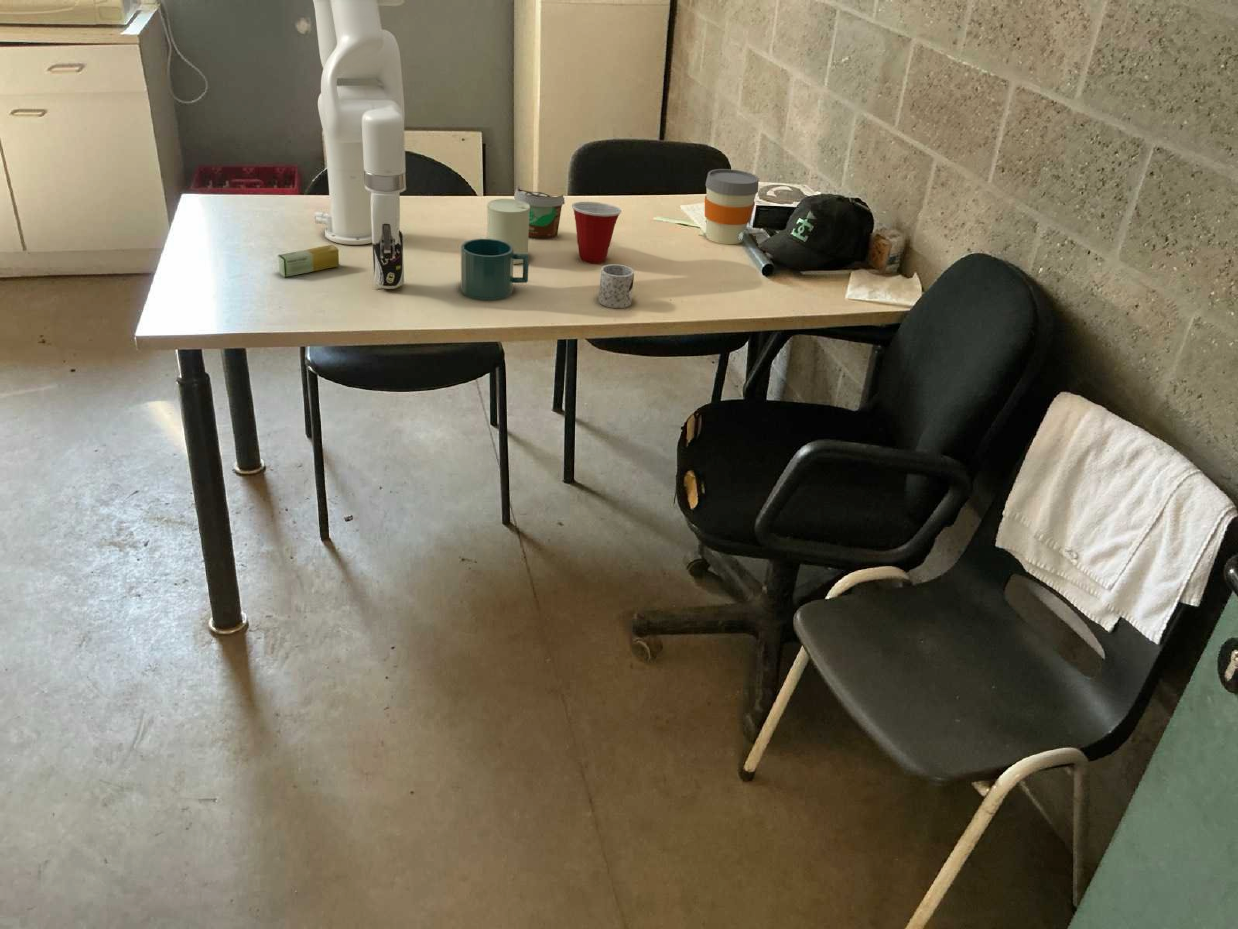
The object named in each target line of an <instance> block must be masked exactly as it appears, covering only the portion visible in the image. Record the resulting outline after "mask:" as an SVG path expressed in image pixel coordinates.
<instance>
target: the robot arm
mask: <svg viewBox="0 0 1238 929" xmlns="http://www.w3.org/2000/svg"><path fill="white" fill-rule="evenodd" d="M405 1H406V0H312V2H313V6H314V14H315V25H316V33H317V42H318V43H317V44H318V51H319V57H320V63H321V66H322V69H323V70H322V73H321V78H320V93H319V96H318V98H317V109H318V115H319V119H320V124H321V128H322V133H323V139H324V146H325V156H326V157H325V158H326V167H327V168H326V169H327V182H328V195H329V208H330V211H329V212H328V213H325V212H321V211H315V213H314V220H315V221H314V222H315V224H320V225H325V226H326V228H325V229H324V237H325V238H326V239H327V240H329V241H331V242H333V243H338V244H341V245H354V246H355V245H356V246H359V245H367V244H372V243H373V244H376V243H379V241H380V254H381V259H383V257H384V259H387V258H389V259H395V245H396V244H397V243H398V237H399V230H400V224H401V223H400V222H401V199H400V198H401V196H400V195H401V194H400V193H403V192H404V191H406V190H407V182H406V181H407V177H406V176H407V175H406V174H407V173H406V172H407V171H406V143H405V142H406V139H405V135H406V134H405V118H406V112H405V111H406V110H405V99H404V98H405V97H404V84H403V73H402V72H403V71H402V63H401V62H402V61H401V54H400V48H399V44H398V41H397V39H396V36H394V34H393V33H392V32H390V31H389V30H387V29H382V28H383V27H382V23H381V17H380V16H381V15H380V9H379V6H384V7H385V6H388V7H390V6H391V7H397V6H398V7H399V6H401V5H402V4H404V3H405ZM338 79H345V80H346V79H347V80H348V79H351V80H352V79H353V80H354V79H355V80H357V79H358V80H359V79H361V80H363V79H364V80H366V79H368V80H370V79H372V80H375V81H377V83H378V85H338ZM392 237H393V243H391V244H390V240H392ZM382 240H384V243H382ZM373 244H372V245H373ZM383 246H384V248H383ZM390 246H392V248H390ZM384 273H385V263H384ZM392 273H393V267H392Z"/></svg>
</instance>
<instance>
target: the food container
mask: <svg viewBox="0 0 1238 929" xmlns="http://www.w3.org/2000/svg"><path fill="white" fill-rule="evenodd" d="M520 186H521V185H517V187H516V189H515V191H514V196H513V199H515V200H520V201H523V202H526V203H528V204H529V205H530V212H529V235H528V239H534V240H549V239H554V238H557V237H558V234H559V227H560V220H561V216H562V215H561V214H562V207H563V205H565V204H566V201H565V197H564V194H561V195H557V196H556V195H555V196H553V195H549V194H547V193H545V192H541V191H528V190H524V189H521V187H520Z"/></svg>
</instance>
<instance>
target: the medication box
mask: <svg viewBox="0 0 1238 929" xmlns="http://www.w3.org/2000/svg"><path fill="white" fill-rule="evenodd" d="M339 251H340V250H339V248H338V247H337V246H335V245H334V244H329V245H323V246H318V247H314V248H307V249H301V250H298V251H292V252H287V253H283V254H282V253H281V254H278V255H277V258H278V273H279V275H280V276H281V277H283V278H284V279H285V278H288V277H292V276H296V275H300V274H307V273H311V272H316V271H321V270H326V269H331V268H336V267H339V266H340V260H339V259H340V258H339V256H340V254H339Z"/></svg>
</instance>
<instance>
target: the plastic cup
mask: <svg viewBox="0 0 1238 929" xmlns="http://www.w3.org/2000/svg"><path fill="white" fill-rule="evenodd" d="M571 208H572V210H573V215H574V220H575V230H576V242H577V247H578V256H579V260H580V261H582V262H584V263H586V264H590V265H591V264H592V265H598V264H603V263H604V262H606V259H607V257H608V252H609V249H610V246H611V243H612V238H613V234H614V230H615V226H616V224H617V221H618V218H619V216H620V215H621V213H622V209H621V208H620V207H618V206H615V205H613V204H609V203H604V202H596V201H577V202H573V203H572V204H571Z"/></svg>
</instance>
